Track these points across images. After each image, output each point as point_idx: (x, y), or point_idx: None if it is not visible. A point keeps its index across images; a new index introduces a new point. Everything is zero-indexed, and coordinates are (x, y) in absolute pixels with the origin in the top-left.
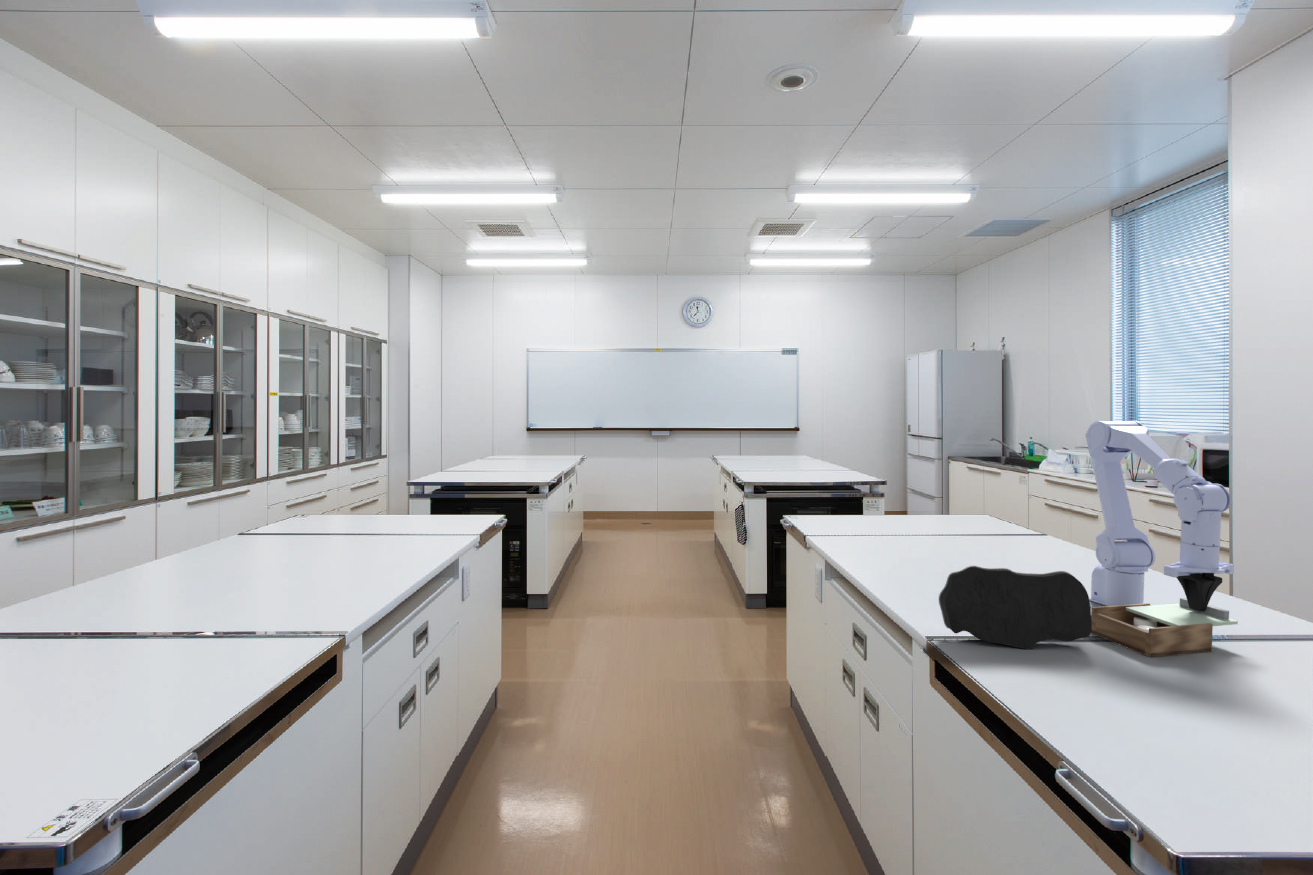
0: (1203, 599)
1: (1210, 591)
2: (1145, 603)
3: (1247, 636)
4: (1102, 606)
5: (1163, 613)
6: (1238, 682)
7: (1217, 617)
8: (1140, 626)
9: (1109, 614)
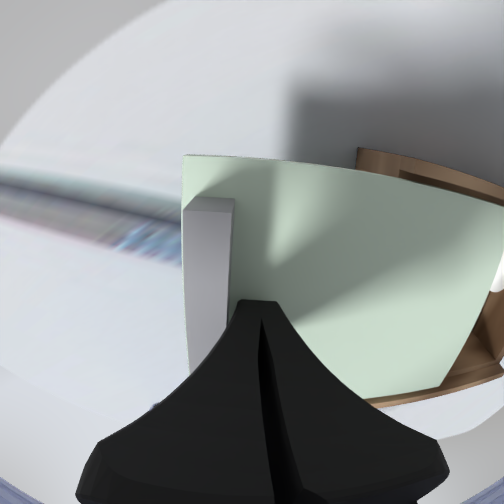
0: (293, 343)
1: (241, 386)
2: None
3: (64, 221)
4: (482, 383)
5: (417, 331)
6: (485, 34)
7: (235, 232)
8: (502, 284)
9: (474, 361)
